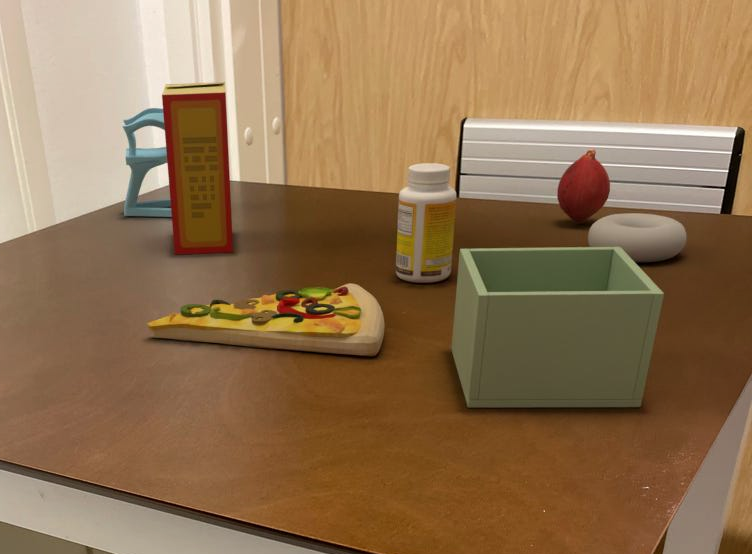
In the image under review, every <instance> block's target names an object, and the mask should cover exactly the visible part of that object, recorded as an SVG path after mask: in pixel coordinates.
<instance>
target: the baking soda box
mask: <svg viewBox="0 0 752 554" xmlns="http://www.w3.org/2000/svg"><path fill="white" fill-rule="evenodd" d="M226 93H227V91H226V82H224V81H223V82H220V81H219V82H198V83H197V82H196V83H195V82H193V83H169V84H168V83H166V84H165V85H164V88H163V91H162V94H161V102H162V109H163V115H164V127H165V130H164V138H165V147H166V152H167V163H166V164H167V174H168V186H169V187H168V188H169V199H170V201H171V207H170V208H171V213H172V217H171V224H172V234H173V235H172V236H173V249H174V250H173V251H174V255H202V254H224V253H225V254H226V253H234V242H233V241H234V240H233V239H234V238H233V220H232V219H233V217H232V199H231V196H232V195H231V182H230V181H231V177H230V175H231V174H230V157H229V156H230V155H229V135H228V133H229V132H228V116H227V115H228V114H227V94H226Z"/></svg>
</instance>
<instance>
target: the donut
mask: <svg viewBox="0 0 752 554" xmlns="http://www.w3.org/2000/svg"><path fill="white" fill-rule="evenodd" d="M687 237H688V235H687V232H686V228H685V227H684V225H683V224H682V223H681V222H680V221H678V220H676V219H674V218H671V217H669V216H665V215H659V214H653V213H637V212H636V213H635V212H632V213H631V212H630V213H629V212H628V213H617V214H615V213H613V214H610V215H605V216H603V217H600V218H599V219H597V220H596V221H595V222H594V223H592V225H591V226H590V227H589V230H588V233H587V243H588V247H621V248H622V249H623V250H624V251H625V252H626V253H627V255H628V256H629V257H630V258H631V259H632V260H633V261H634V262H635V263H638V264H639V263H642V264H643V263H657V262H662V261H666V260H669V259H672V258H674V257H675V256H677V255H678V254H679V253H680V252H681V251H682V250H683V249H684V248H685V246H686V243H687V240H688V239H687Z"/></svg>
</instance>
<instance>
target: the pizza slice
mask: <svg viewBox="0 0 752 554" xmlns="http://www.w3.org/2000/svg"><path fill="white" fill-rule="evenodd" d="M146 324H147V328H148V329H149V331H150V335H151V338H154V339H169V340H176V341H188V342H199V343H201V342H202V343H213V344H223V345H233V346H243V347H251V348H263V349H275V350H287V351H298V352H299V351H300V352H311V353H324V354H335V355H336V354H337V355H352V356H360V357H375V356H376V355H377V354H378V353H379V352H380V350H381V347H382V344H383V341H384V336H385V328H386V327H385V326H386V323H385V318H384V312H383V310H382V307H381V305H380V303H379V302H378V300H377V299H376V298H375V296H374V295H372V294H371V293H370V292H369V291H368V290H365V288H364V287H362V286H360V285H359V284H356V283H351V282H349V283H346V284H344V285H341V286H339V287H337V288H329V287H325V286H317V287H315V286H313V287H303V288H301V289H300V290H298V289H283V290H279V291H277V292H276V293H273V294H271V295H267V294H263V295H262V296H261V297H255V298H254V297H253V298H248V299H241V300H237V301H236V302H234V303H229V302H227V301H225V300H223V299H213V300H212V301H211V303H210V304H201V303H199V304H198V303H189V304H183V305H181V306H180V312H179V313H175V312H170V313H169V315H167V316H164V317H161V318H158V319H156V320H152V321H150V322H147V323H146Z"/></svg>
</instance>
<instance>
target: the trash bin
mask: <svg viewBox="0 0 752 554" xmlns="http://www.w3.org/2000/svg"><path fill="white" fill-rule="evenodd" d="M458 255H459V256H458V265H457V266H458V267H457V279H456V291H455V302H454V315H453V324H452V325H453V326H452V337H451V353H452V356H453V360H454V364H455V367H456V371H457V375H458V378H459V382H460V385H461V388H462V391H463V395H464V400H465V402H466V406H467V408H468V409H470V408H472V409H475V408H476V409H477V408H478V409H479V408H480V409H481V408H483V409H485V408H486V409H487V408H488V409H489V408H493V409H494V408H499V409H500V408H505V409H506V408H508V409H509V408H512V409H513V408H515V409H516V408H519V409H521V408H641V406H642V402H643V401H642V400H643V397H644V392H645V388H646V382H647V378H648V374H649V373H648V372H649V369H650V363H651V358H652V353H653V348H654V343H655V339H656V336H657V335H656V334H657V329H658V325H659V321H660V320H659V319H660V316H661V310H662V306H663V302H664V301H663V300H664V296H665V293H664V292H663V291H662V289H660V287H659V286H658V285H657V284H656V283H655V282H654V281H653V280H652V279H651V278H650V277H649V276H648V274H646V272H645V271H643V269H642V268H641V267H640V266H639V265H638V264H637V262H634V261H633V260H632V259H631V258H630V257H629V256H628V255H627V253H626V252H625V251H624V250H623V249H622V248H621V247H589V246H575V247H571V246H570V247H495V248H491V247H490V248H489V247H488V248H487V247H485V248H484V247H483V248H460V249H459V254H458Z"/></svg>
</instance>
